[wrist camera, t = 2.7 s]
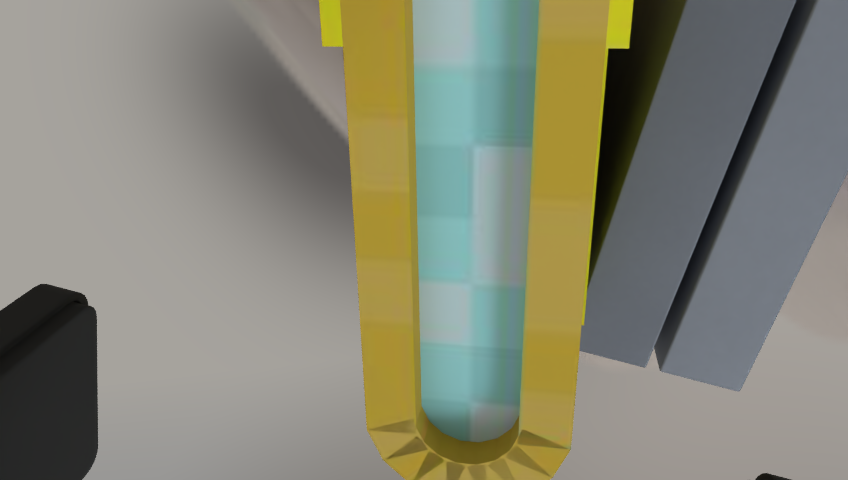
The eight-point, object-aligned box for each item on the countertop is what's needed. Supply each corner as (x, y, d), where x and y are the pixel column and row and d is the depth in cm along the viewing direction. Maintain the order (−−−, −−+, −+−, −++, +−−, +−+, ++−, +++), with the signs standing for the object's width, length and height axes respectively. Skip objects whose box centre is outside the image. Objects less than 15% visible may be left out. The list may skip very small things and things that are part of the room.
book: (456, -98, 37) (307, -147, 14) (586, -101, 36) (650, -161, 13) (456, 201, 43) (355, 489, 21) (565, 205, 42) (582, 514, 20)
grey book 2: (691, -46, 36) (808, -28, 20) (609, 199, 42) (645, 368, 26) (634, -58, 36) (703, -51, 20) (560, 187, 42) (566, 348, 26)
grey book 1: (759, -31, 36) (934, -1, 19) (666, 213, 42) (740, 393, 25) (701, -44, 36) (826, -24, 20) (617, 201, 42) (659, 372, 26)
